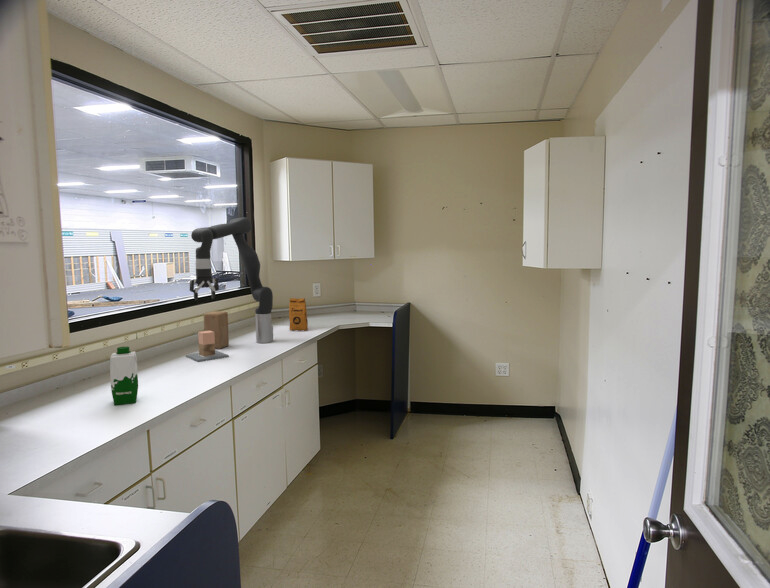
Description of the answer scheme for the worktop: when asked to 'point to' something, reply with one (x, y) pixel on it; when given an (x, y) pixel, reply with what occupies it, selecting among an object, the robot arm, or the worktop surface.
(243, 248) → the robot arm
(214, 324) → the wooden block
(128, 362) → the milk carton
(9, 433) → the worktop surface
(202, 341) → the terracotta cube
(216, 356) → the slate mat
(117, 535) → the worktop surface
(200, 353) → the walnut cube
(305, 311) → the coffee package
